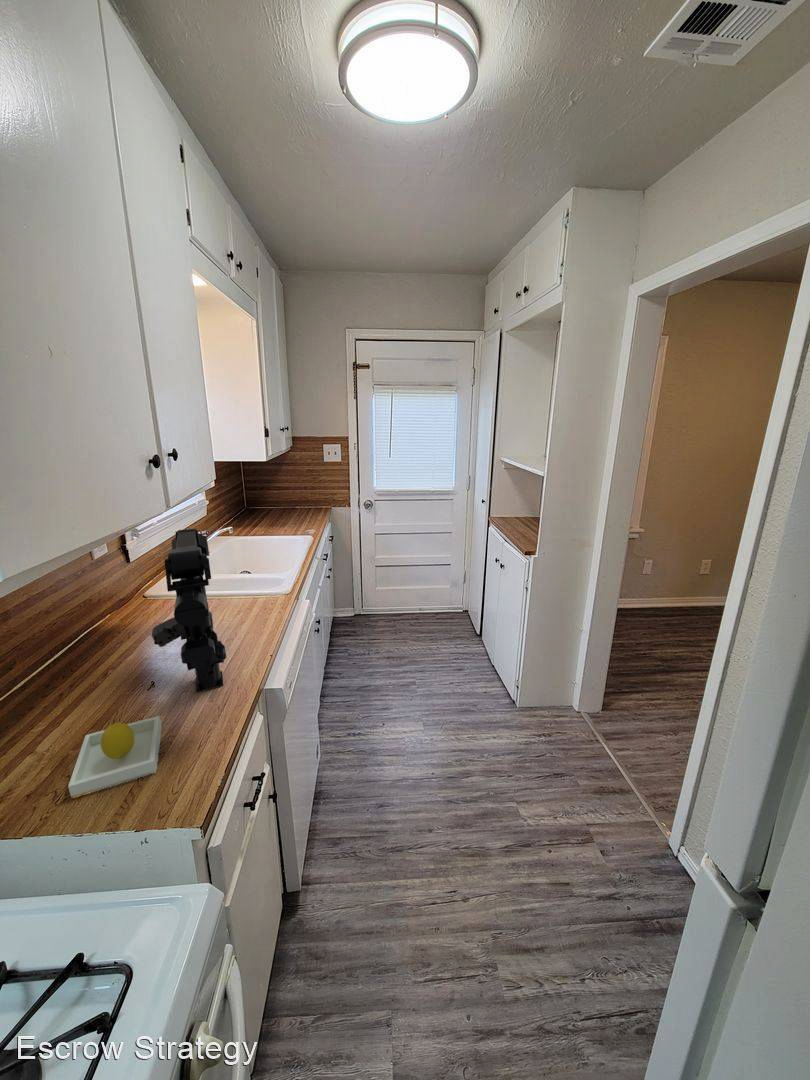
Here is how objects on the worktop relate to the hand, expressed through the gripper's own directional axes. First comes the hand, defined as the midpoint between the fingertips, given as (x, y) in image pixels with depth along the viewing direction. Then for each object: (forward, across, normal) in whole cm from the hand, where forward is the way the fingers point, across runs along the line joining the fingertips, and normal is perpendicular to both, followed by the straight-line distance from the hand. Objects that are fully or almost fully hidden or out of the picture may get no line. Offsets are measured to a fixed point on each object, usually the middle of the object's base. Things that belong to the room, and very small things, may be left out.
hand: (203, 667), depth 96 cm
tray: (+12, +8, -17) cm, 22 cm away
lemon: (+12, +8, -17) cm, 22 cm away
